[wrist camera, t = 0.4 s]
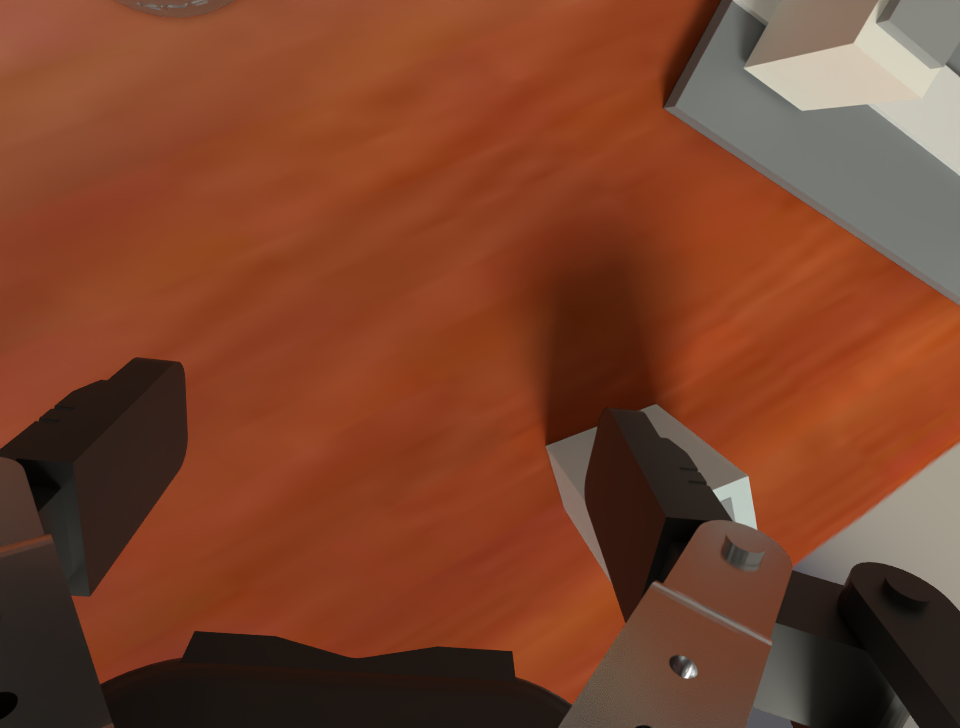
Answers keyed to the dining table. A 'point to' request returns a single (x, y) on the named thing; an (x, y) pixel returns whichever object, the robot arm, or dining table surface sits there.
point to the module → (855, 50)
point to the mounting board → (837, 147)
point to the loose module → (716, 469)
